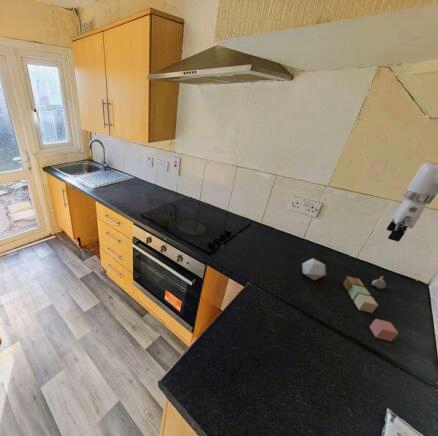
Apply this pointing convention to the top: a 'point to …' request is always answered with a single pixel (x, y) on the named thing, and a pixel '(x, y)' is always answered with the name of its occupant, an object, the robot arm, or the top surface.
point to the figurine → (379, 283)
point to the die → (313, 269)
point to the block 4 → (383, 330)
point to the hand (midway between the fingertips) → (392, 235)
